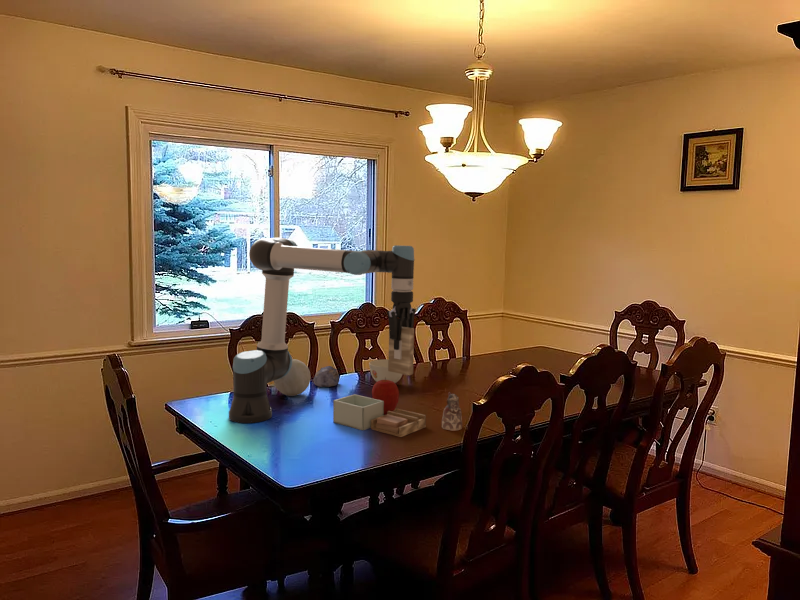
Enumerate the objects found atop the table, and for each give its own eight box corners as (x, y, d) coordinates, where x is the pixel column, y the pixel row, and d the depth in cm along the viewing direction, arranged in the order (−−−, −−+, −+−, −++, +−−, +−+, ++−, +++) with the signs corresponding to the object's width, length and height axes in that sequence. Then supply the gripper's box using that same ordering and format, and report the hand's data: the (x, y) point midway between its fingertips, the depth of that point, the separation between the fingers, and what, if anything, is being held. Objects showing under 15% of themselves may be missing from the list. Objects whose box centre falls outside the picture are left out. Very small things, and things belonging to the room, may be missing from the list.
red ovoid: (404, 413, 232) (404, 377, 230) (385, 419, 225) (385, 381, 223) (384, 407, 239) (385, 372, 237) (365, 413, 232) (366, 376, 230)
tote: (362, 430, 211) (363, 407, 210) (333, 422, 220) (333, 400, 219) (383, 423, 220) (383, 401, 219) (354, 415, 228) (354, 394, 228)
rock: (342, 376, 278) (334, 359, 273) (337, 392, 270) (330, 375, 265) (319, 380, 281) (312, 363, 276) (314, 395, 272) (307, 378, 267)
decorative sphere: (299, 401, 246) (299, 364, 244) (266, 398, 251) (266, 361, 249) (316, 392, 260) (316, 357, 258) (285, 389, 265) (284, 354, 263)
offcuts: (397, 433, 206) (397, 423, 206) (375, 427, 212) (375, 418, 212) (410, 428, 212) (411, 419, 212) (389, 422, 218) (389, 413, 218)
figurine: (445, 431, 212) (446, 396, 210) (438, 425, 218) (439, 391, 217) (465, 429, 214) (466, 395, 212) (457, 423, 220) (458, 390, 219)
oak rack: (400, 437, 205) (400, 424, 204) (370, 429, 213) (371, 416, 212) (425, 427, 216) (425, 415, 215) (396, 419, 224) (396, 408, 223)
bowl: (410, 388, 270) (410, 365, 269) (375, 391, 264) (375, 368, 263) (397, 379, 285) (397, 358, 284) (363, 382, 279) (364, 360, 278)
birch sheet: (408, 375, 212) (409, 329, 211) (388, 371, 218) (389, 326, 216) (412, 374, 214) (414, 328, 213) (392, 370, 220) (393, 325, 218)
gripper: (396, 293, 205) (395, 363, 207) (424, 290, 217) (422, 356, 219) (379, 291, 209) (377, 359, 212) (407, 288, 221) (405, 353, 224)
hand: (400, 357), depth 216 cm, fingers closed on birch sheet, 2 cm apart
